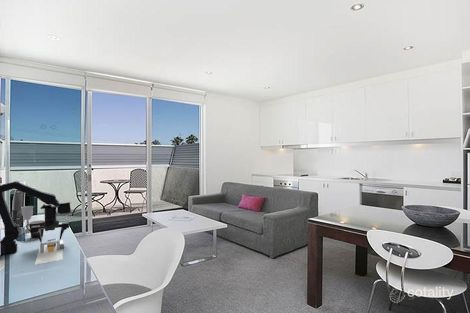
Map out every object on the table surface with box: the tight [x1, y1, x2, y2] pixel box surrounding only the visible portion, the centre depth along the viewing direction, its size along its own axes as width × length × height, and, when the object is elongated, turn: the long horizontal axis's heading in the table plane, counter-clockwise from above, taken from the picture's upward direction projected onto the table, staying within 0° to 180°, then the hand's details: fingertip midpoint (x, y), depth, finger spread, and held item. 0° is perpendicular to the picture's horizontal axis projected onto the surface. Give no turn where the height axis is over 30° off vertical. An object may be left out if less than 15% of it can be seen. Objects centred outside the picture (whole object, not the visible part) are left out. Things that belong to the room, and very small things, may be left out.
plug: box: [47, 238, 57, 252], centre depth 154 cm, size 4×14×3 cm, turn 32°
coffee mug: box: [25, 219, 45, 239], centre depth 178 cm, size 12×9×10 cm
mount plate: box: [34, 239, 64, 266], centre depth 150 cm, size 12×38×1 cm, turn 32°
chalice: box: [20, 205, 34, 234], centre depth 188 cm, size 7×7×18 cm
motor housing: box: [39, 238, 65, 253], centre depth 151 cm, size 11×5×5 cm, turn 122°
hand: (50, 241), depth 157 cm, fingers open, 9 cm apart
